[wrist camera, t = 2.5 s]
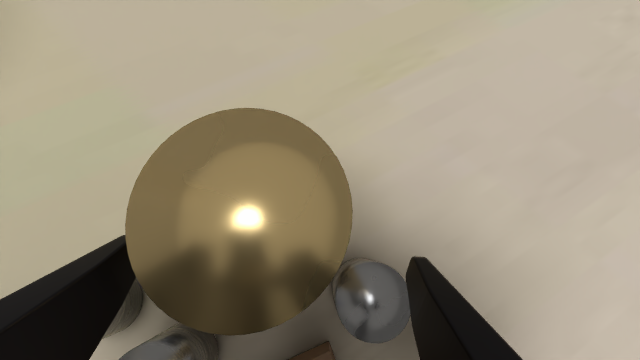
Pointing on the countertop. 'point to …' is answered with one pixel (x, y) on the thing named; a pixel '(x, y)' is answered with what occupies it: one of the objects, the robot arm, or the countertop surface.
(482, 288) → the countertop surface
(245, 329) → the cylinder
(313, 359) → the brown wooden board
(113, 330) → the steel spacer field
